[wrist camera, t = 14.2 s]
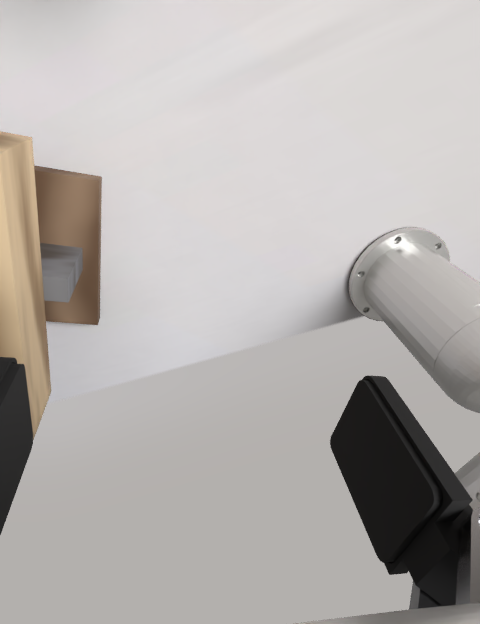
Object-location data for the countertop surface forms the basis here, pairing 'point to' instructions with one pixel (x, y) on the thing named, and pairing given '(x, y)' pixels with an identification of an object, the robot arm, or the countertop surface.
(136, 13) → the countertop surface
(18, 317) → the oak beam
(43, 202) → the walnut stand
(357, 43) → the countertop surface
